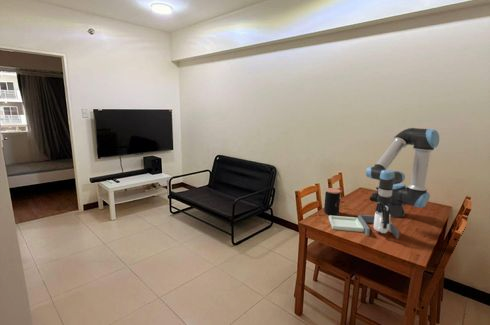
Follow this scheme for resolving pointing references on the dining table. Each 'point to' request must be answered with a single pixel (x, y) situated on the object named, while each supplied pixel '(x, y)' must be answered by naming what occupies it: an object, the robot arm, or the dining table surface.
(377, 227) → the mug
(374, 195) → the camera
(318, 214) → the dining table surface
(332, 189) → the coffee jar
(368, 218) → the bay
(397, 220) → the dining table surface
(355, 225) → the tray
